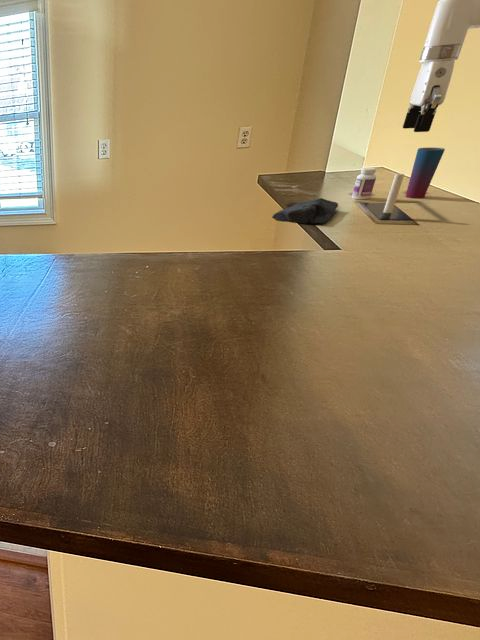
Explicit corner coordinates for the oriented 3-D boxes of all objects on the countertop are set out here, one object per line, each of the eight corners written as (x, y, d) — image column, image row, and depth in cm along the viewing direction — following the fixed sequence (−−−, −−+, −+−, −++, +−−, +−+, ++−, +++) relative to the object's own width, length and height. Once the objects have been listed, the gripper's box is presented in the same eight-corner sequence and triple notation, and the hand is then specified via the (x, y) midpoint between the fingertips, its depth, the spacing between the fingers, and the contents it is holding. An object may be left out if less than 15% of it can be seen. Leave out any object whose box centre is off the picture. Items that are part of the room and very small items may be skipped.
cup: (431, 196, 161) (448, 148, 153) (422, 199, 158) (440, 150, 150) (406, 193, 166) (422, 147, 158) (398, 197, 163) (414, 149, 155)
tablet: (416, 205, 152) (418, 202, 151) (444, 225, 133) (446, 221, 132) (357, 205, 157) (358, 201, 157) (375, 223, 138) (376, 219, 138)
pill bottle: (371, 197, 165) (380, 167, 160) (368, 200, 162) (377, 170, 157) (352, 196, 168) (361, 166, 164) (349, 199, 165) (358, 169, 160)
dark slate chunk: (345, 211, 152) (350, 195, 150) (323, 226, 139) (328, 210, 137) (293, 206, 162) (296, 191, 159) (268, 220, 149) (271, 204, 147)
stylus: (388, 216, 140) (403, 173, 134) (390, 218, 138) (405, 174, 132) (380, 216, 140) (394, 173, 134) (382, 218, 139) (396, 174, 133)
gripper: (473, 52, 111) (444, 132, 120) (446, 54, 125) (421, 126, 133) (433, 55, 114) (407, 133, 122) (410, 56, 127) (389, 127, 136)
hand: (415, 129), depth 128 cm, fingers open, 9 cm apart
